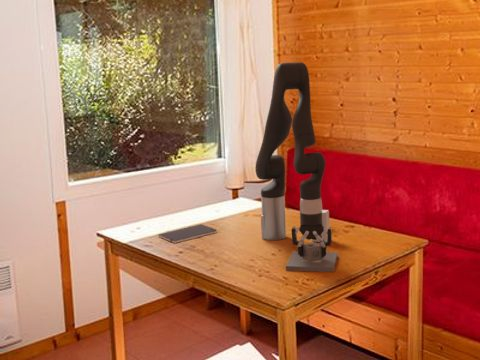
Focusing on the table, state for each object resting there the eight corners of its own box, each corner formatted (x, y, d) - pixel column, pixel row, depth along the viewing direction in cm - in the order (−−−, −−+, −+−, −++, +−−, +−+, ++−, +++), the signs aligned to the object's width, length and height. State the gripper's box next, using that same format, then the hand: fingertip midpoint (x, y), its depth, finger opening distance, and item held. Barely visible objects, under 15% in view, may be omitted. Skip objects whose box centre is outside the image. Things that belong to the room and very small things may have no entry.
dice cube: (302, 258, 211) (302, 244, 210) (314, 255, 213) (314, 242, 212) (309, 262, 207) (309, 248, 206) (322, 259, 209) (321, 245, 208)
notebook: (201, 227, 264) (158, 238, 252) (201, 224, 264) (158, 234, 251) (217, 233, 254) (174, 244, 242) (217, 229, 254) (173, 240, 241)
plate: (286, 270, 205) (285, 265, 204) (293, 254, 220) (293, 250, 220) (333, 272, 201) (333, 267, 201) (337, 256, 216) (337, 252, 216)
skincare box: (330, 239, 236) (329, 210, 233) (326, 242, 232) (326, 212, 230) (315, 238, 238) (314, 209, 236) (311, 241, 234) (310, 211, 232)
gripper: (288, 213, 205) (290, 259, 208) (331, 213, 201) (332, 260, 205) (292, 207, 212) (293, 252, 215) (333, 208, 208) (334, 253, 212)
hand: (312, 256), depth 210 cm, fingers closed on dice cube, 7 cm apart
